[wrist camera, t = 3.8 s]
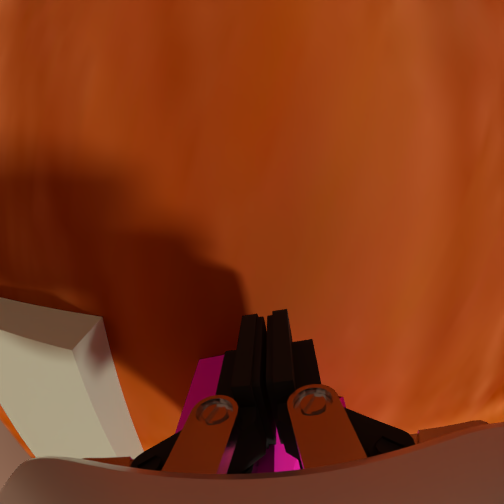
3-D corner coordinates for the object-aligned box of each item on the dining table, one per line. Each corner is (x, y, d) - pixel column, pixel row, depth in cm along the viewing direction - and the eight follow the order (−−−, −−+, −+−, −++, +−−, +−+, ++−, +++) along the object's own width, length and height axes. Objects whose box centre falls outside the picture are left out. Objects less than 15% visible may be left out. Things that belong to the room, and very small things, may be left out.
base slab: (-8, 291, 14) (-41, 314, 11) (106, 312, 14) (72, 350, 11) (64, 450, 20) (50, 475, 16) (159, 479, 19) (149, 510, 16)
